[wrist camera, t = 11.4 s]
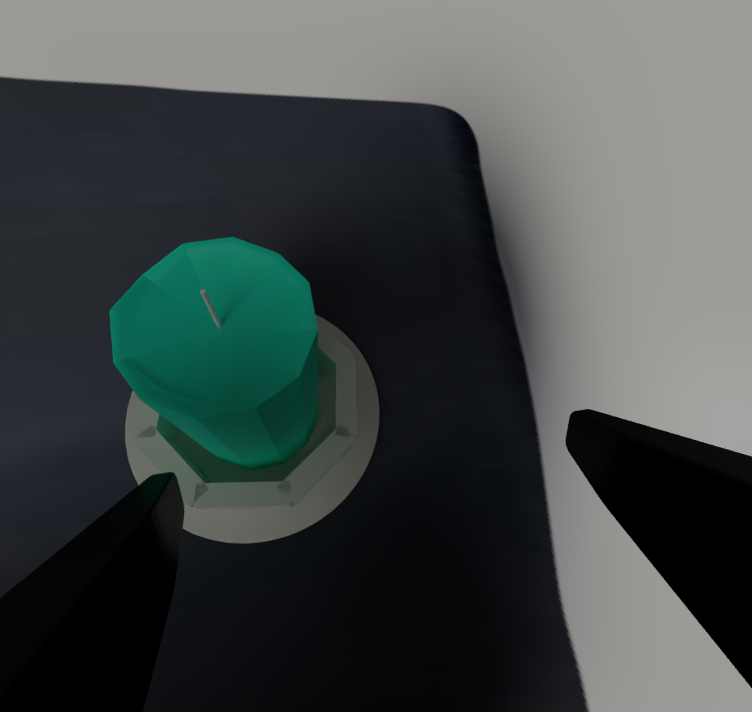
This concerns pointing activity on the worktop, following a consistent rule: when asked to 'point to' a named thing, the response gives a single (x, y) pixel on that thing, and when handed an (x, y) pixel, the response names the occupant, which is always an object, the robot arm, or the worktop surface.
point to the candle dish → (278, 483)
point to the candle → (224, 349)
